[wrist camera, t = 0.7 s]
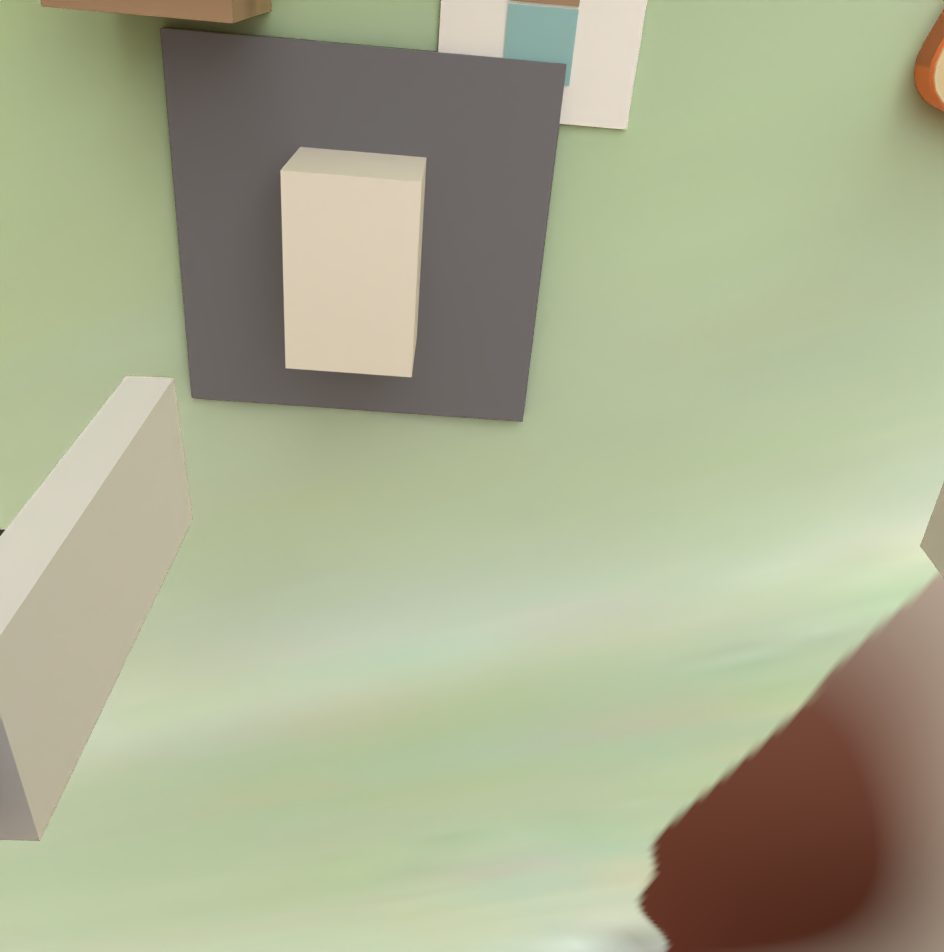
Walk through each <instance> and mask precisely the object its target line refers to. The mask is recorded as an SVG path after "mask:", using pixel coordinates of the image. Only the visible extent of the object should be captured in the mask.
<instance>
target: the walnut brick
mask: <svg viewBox="0 0 944 952" xmlns="http://www.w3.org/2000/svg"><path fill="white" fill-rule="evenodd" d="M41 6H44V7H55V8H67V9H78V10H89V11H100V12H111V13H122V14H134V15H145V16H156V17H167V18H178V19H189V20H200V21H212V22H223V23H235V22H239V21H242V20H245V19H248V18H251V17H254V16H257V15H260V14H264V13H267V12H270V11H272V7H271V0H41Z"/></svg>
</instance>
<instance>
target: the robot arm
mask: <svg viewBox="0 0 944 952" xmlns="http://www.w3.org/2000/svg"><path fill="white" fill-rule="evenodd" d="M192 520H193V515H192V508H191V501H190V493H189V486H188V479H187V471H186V464H185V457H184V449H183V442H182V435H181V427H180V420H179V413H178V406H177V398H176V391H175V384H174V378H165V377H141V376H126V377H125V378H124V379H123V381H122V382H121V383H120V384H119V386H118V387H117V388H116V389H115V391H114V392H113V393H112V395H111V396H110V397H109V398H108V400H107V401H106V402H105V403H104V405H103V406H102V407H101V409H100V410H99V411H98V412H97V414H96V415H95V416H94V417H93V419H92V420H91V421H90V423H89V424H88V425H87V426H86V428H85V429H84V430H83V431H82V433H81V434H80V435H79V437H78V438H77V439H76V440H75V442H74V443H73V444H72V445H71V447H70V448H69V449H68V451H67V452H66V453H65V454H64V456H63V457H62V458H61V460H60V461H59V462H58V463H57V465H56V466H55V467H54V468H53V470H52V471H51V472H50V474H49V475H48V476H47V477H46V479H45V480H44V481H43V482H42V484H41V485H40V486H39V488H38V489H37V490H36V491H35V493H34V494H33V495H32V496H31V498H30V499H29V500H28V502H27V503H26V504H25V505H24V507H23V508H22V509H21V510H20V512H19V513H18V514H17V516H16V517H15V518H14V519H13V521H12V522H11V523H10V525H9V526H8V527H7V528H6V530H0V840H29V841H40V839H41V837H42V835H43V833H44V831H45V829H46V827H47V825H48V823H49V821H50V818H51V816H52V814H53V812H54V810H55V808H56V806H57V804H58V802H59V800H60V797H61V795H62V793H63V791H64V789H65V787H66V785H67V783H68V781H69V779H70V776H71V774H72V772H73V770H74V768H75V766H76V764H77V762H78V760H79V758H80V755H81V753H82V751H83V749H84V747H85V745H86V743H87V741H88V739H89V737H90V735H91V732H92V730H93V728H94V726H95V724H96V722H97V720H98V718H99V716H100V714H101V711H102V709H103V707H104V705H105V703H106V701H107V699H108V697H109V695H110V693H111V690H112V688H113V686H114V684H115V682H116V680H117V678H118V676H119V674H120V672H121V669H122V667H123V665H124V663H125V661H126V659H127V657H128V655H129V653H130V651H131V648H132V646H133V644H134V642H135V640H136V638H137V636H138V634H139V632H140V630H141V627H142V625H143V623H144V621H145V619H146V617H147V615H148V613H149V611H150V609H151V606H152V604H153V602H154V600H155V598H156V596H157V594H158V592H159V590H160V588H161V585H162V583H163V581H164V579H165V577H166V575H167V573H168V571H169V569H170V567H171V564H172V562H173V560H174V558H175V556H176V554H177V552H178V550H179V548H180V546H181V543H182V541H183V539H184V537H185V535H186V533H187V531H188V529H189V527H190V525H191V522H192ZM920 547H921V548H922V549H923V551H924V552H925V553H926V555H927V556H928V557H929V559H930V560H931V561H932V563H933V564H934V565H935V567H936V568H937V569H938V571H939V572H940V574H941V575H942V576H943V578H944V483H943V486H942V488H941V491H940V494H939V496H938V499H937V502H936V504H935V507H934V510H933V513H932V515H931V518H930V521H929V523H928V526H927V529H926V531H925V534H924V537H923V540H922V542H921V545H920Z"/></svg>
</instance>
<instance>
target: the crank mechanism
mask: <svg viewBox="0 0 944 952" xmlns="http://www.w3.org/2000/svg"><path fill="white" fill-rule="evenodd" d="M914 75H915V82H916V88H917V89H918V91H919V93H920V95H921V97H922V98H923V99H924V100H925V101H926V102H928V103H929V104H930V105H931V106H933V107H935V108H937V109H939V110H941V111H943V112H944V10H943V12H942V13H941V15H940V17H939V18H938V20H937V22H936V23H935V25H934V27H933V28H932V30H931V32H930V33H929V35H928V36H927V38H926V40H925V41H924V43H923V45H922V47H921V50H920V52H919V54H918V56H917V59H916V65H915V72H914Z"/></svg>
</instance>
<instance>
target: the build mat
mask: <svg viewBox="0 0 944 952" xmlns="http://www.w3.org/2000/svg"><path fill="white" fill-rule="evenodd" d="M160 30H161V42H162V54H163V65H164V77H165V89H166V101H167V113H168V124H169V136H170V148H171V160H172V171H173V183H174V195H175V207H176V218H177V230H178V242H179V254H180V266H181V277H182V289H183V301H184V313H185V324H186V336H187V348H188V360H189V372H190V383H191V395H192V398H197V399H211V400H225V401H239V402H254V403H268V404H282V405H296V406H310V407H324V408H338V409H352V410H366V411H380V412H394V413H408V414H423V415H437V416H451V417H465V418H479V419H493V420H507V421H521V422H523V415H524V407H525V399H526V391H527V382H528V374H529V366H530V358H531V350H532V342H533V334H534V326H535V318H536V310H537V301H538V293H539V285H540V277H541V269H542V261H543V253H544V245H545V237H546V228H547V220H548V212H549V204H550V196H551V188H552V180H553V172H554V164H555V155H556V147H557V139H558V131H559V123H560V115H561V107H562V99H563V91H564V83H565V74H566V66H567V64H562V63H551V62H540V61H529V60H518V59H506V58H498V57H487V56H476V55H465V54H454V53H442V52H438V51H426V50H415V49H404V48H393V47H382V46H370V45H359V44H348V43H337V42H326V41H314V40H303V39H292V38H281V37H269V36H258V35H247V34H236V33H225V32H213V31H202V30H191V29H180V28H169V27H163V28H160Z"/></svg>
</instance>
